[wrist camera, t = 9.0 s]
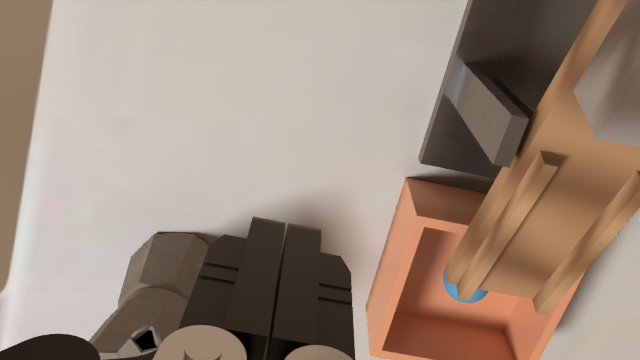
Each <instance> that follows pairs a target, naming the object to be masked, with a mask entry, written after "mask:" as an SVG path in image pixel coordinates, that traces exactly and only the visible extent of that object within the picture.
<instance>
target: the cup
mask: <svg viewBox="0 0 640 360" xmlns="http://www.w3.org/2000/svg"><path fill="white" fill-rule="evenodd" d="M486 195H487V194H486V193H481V192H476V191H471V190H466V189H461V188H456V187H451V186H446V185H441V184H436V183H431V182H426V181H421V180H416V179H411V178H406V179H405V182H404V185H403V188H402V192H401V195H400V198H399V201H398V204H397V208H396V211H395V214H394V217H393V221H392V224H391V227H390V230H389V233H388V237H387V240H386V243H385V246H384V249H383V253H382V256H381V259H380V262H379V265H378V269H377V272H376V275H375V278H374V281H373V285H372V288H371V291H370V294H369V297H368V301H367V304H366V314H367V326H368V338H369V349H370V356H374V357H380V358H385V359H391V360H539V359H540V357H541V355H542V354H543V352H544V350H545V348H546V346H547V344H548V342H549V340H550V338H551V336H552V334H553V332H554V331H555V329H556V327H557V325H558V323H559V321H560V319H561V317H562V315H563V313H564V311H565V309H566V308H567V306H568V304H569V302H570V300H571V298H572V296H573V294H574V292H575V290H576V288H577V286H578V285H579V283H580V281H581V279H582V277H583V275H584V273H585V271H586V270H585V271H584V272H583V274H582V275H581V276H580V277H579V278H578V279H577V280H576V282H575V283H574V284H573V285H572V286H571V287H570V289H569V290H568V291H567V292H566V293H565V294H564V295H563V297H562V298H561V299H560V300H559V301H558V302H557V303H556V305H555V306H554V307H553V308H552V309H551V310H550V312H549V313H548V314H547V315H543V314H537V313H536V312H535V308H534V304H533V300H532V299H528V298H523V297H517V296H512V295H507V294H501V293H496V292H491V291H488V293H487V294H486V296H485V297H484V298H482V299H481V300H479V301H477V302H474V303H463V302H459V301H457V300H455V299H454V298H452V297H451V296H450V295H449V294H448V292H447V291H446V289H445V286H444V283H443V274H444V270H445V267H446V265H447V263H448V262H449V260H450V258H451V256H452V255H453V253H454V251H455V249H456V248H457V246H458V244H459V242H460V241H461V239H462V237H463V235H464V234H465V232H466V230H467V228H468V227H469V225H470V223H471V221H472V220H473V218H474V216H475V214H476V213H477V211H478V209H479V207H480V206H481V204H482V202H483V200H484V199H485V197H486Z"/></svg>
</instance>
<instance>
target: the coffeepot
mask: <svg viewBox="0 0 640 360" xmlns="http://www.w3.org/2000/svg"><path fill="white" fill-rule="evenodd" d="M209 246H210V244H209V243H207V242H206V241H204V240H203V239H200V238H198V237H197V236H196V235H194V234H187V233H177V232H173V233H164V234H154V235H153V236H152V237H151V238H150V239H149V240H148V241H147V242H145V243H144V244H143V245H142V247H141V248H140V249H139V250H138V251H137V252H136V253H135V254H134V255H133V256H132V257H131V259H130V262H129V266H128V269H127V273H126V276H125V280H124V283H123V287H122V290H121V294H120V297H119V301H118V309H117V310H116V311H115V312H114V313H113V314H112V315H111V316H110V317H109V318H108V319H107V320H106V321H105V322H104V323H103V325H102V326H101V327H100V328H99V329H98V331H97V332H96V333H95V334H94V335H93V336H92V338H91V339H90V340H89V341H88V342H90V343H91V344H92V345H93V346H94V347H95V348H96V350H97V351H98V353H99V355H100V359H101V360H106V359H118V358H129V357H136V356H140V355H144V354H147V353H150V352H152V351H155V350H157V349H158V348H159V346H160V345H161V343H162V342H163V340H164V339H165V338H166V337H167V336H169V335H170V334H172V333H173V332H175V331H177V330H178V327H179V325H180V322H181V320H182V317H183V314H184V312H185V309H186V306H187V304H188V301H189V298H190V296H191V293H192V291H193V288H194V285H195V283H196V280H197V278H198V275H199V272H200V269H201V267H202V265H203V262H204V259H205V256H206V254H207V251H208V248H209Z"/></svg>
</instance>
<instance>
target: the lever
mask: <svg viewBox="0 0 640 360" xmlns="http://www.w3.org/2000/svg"><path fill="white" fill-rule="evenodd" d="M639 208H640V0H598V2H597V3H596V5H595V7H594V9H593V10H592V12H591V14H590V16H589V17H588V19H587V21H586V22H585V24H584V26H583V28H582V29H581V31H580V33H579V35H578V36H577V38H576V40H575V42H574V43H573V45H572V47H571V49H570V50H569V52H568V54H567V56H566V57H565V59H564V61H563V63H562V64H561V66H560V68H559V70H558V71H557V73H556V75H555V77H554V78H553V80H552V82H551V84H550V85H549V87H548V89H547V91H546V92H545V94H544V96H543V98H542V99H541V101H540V103H539V104H538V106H537V108H536V110H535V111H534V113H533V115H532V117H531V118H530V120H529V122H528V124H527V126H526V128H525V131H524V133H523V136H522V138H521V141H520V143H519V146H518V148H517V151H516V153H515V156H514V158H513V161H512V163H511V166H510V168H508V167H502V169H501V171H500V173H499V174H498V176H497V178H496V180H495V181H494V183H493V185H492V186H491V188H490V190H489V192H488V193H487V195H486V197H485V199H484V200H483V202H482V204H481V206H480V207H479V209H478V211H477V213H476V214H475V216H474V218H473V220H472V221H471V223H470V225H469V227H468V228H467V230H466V232H465V234H464V235H463V237H462V239H461V241H460V242H459V244H458V246H457V248H456V249H455V251H454V253H453V255H452V256H451V258H450V260H449V262H448V263H447V265H446V267H445V269H446V277H447V283H448V284H453V285H457V293H458V299H462V300H467V301H469V300H470V299H471V297H472V296H473V294H474V293H475V291H476V290H477V289H480V290H485V291H491V292H496V293H501V294H507V295H512V296H517V297H523V298H528V299H532V300H533V304H534V308H535V312H536V313H537V314H543V315H547V314H548V313H549V312H550V310H551V309H552V308H553V307H554V306H555V305H556V303H557V302H558V301H559V300H560V299H561V298H562V297H563V295H564V294H565V293H566V292H567V291H568V290H569V289H570V287H571V286H572V285H573V284H574V283H575V282H576V280H577V279H578V278H579V277H580V276H581V275H582V274H583V272H584V271H585V270H586V269H587V268H588V267H589V265H590V264H591V263H592V262H593V261H594V260H595V259H596V257H597V256H598V255H599V254H600V253H601V252H602V251H603V249H604V248H605V247H606V246H607V245H608V244H609V242H610V241H611V240H612V239H613V238H614V237H615V236H616V234H617V233H618V232H619V231H620V230H621V229H622V228H623V226H624V225H625V224H626V223H627V222H628V221H629V219H630V218H631V217H632V216H633V215H634V214H635V213H636V211H637V210H638V209H639Z"/></svg>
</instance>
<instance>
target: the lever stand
mask: <svg viewBox="0 0 640 360" xmlns="http://www.w3.org/2000/svg"><path fill="white" fill-rule="evenodd" d="M597 2H598V0H468V3H467V6H466V9H465V12H464V15H463V19H462V22H461V25H460V28H459V31H458V34H457V37H456V41H455V44H454V47H453V50H452V53H451V56H450V59H449V63H448V66H447V69H446V72H445V75H444V78H443V82H442V85H441V88H440V91H439V94H438V97H437V100H436V104H435V107H434V110H433V113H432V116H431V119H430V122H429V126H428V129H427V132H426V135H425V138H424V141H423V144H422V148H421V151H420V154H419V157H418V158H419V160H420V163H422V164H426V165H431V166H436V167H441V168H446V169H451V170H456V171H461V172H466V173H471V174H476V175H481V176H485V177H490V178H495V179H496V178H497V176H498V174H499V173H500V171H501V169H502V167H508V168H510V166H511V163H512V161H513V158H514V156H515V153H516V151H517V148H518V146H519V143H520V141H521V138H522V136H523V133H524V131H525V128H526V126H527V124H528V122H529V120H530V118H531V117H532V115H533V113H534V111H535V110H536V108H537V106H538V104H539V103H540V101H541V99H542V98H543V96H544V94H545V92H546V91H547V89H548V87H549V85H550V84H551V82H552V80H553V78H554V77H555V75H556V73H557V71H558V70H559V68H560V66H561V64H562V63H563V61H564V59H565V57H566V56H567V54H568V52H569V50H570V49H571V47H572V45H573V43H574V42H575V40H576V38H577V36H578V35H579V33H580V31H581V29H582V28H583V26H584V24H585V22H586V21H587V19H588V17H589V16H590V14H591V12H592V10H593V9H594V7H595V5H596V3H597Z"/></svg>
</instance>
